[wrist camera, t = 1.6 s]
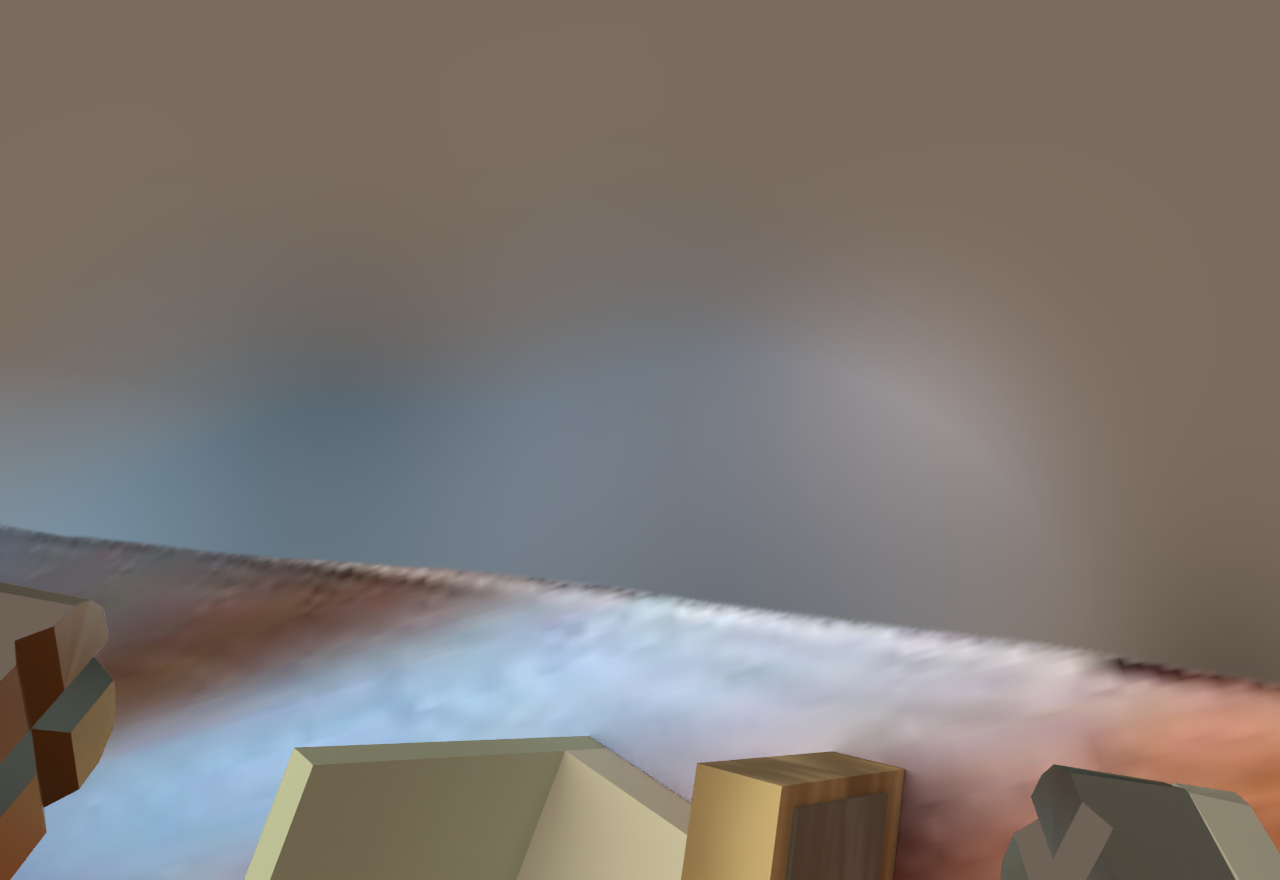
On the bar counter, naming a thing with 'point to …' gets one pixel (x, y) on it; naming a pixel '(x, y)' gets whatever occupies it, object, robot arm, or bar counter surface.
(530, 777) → the cream l-shaped bookend
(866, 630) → the bar counter surface
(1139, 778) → the robot arm
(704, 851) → the small box
